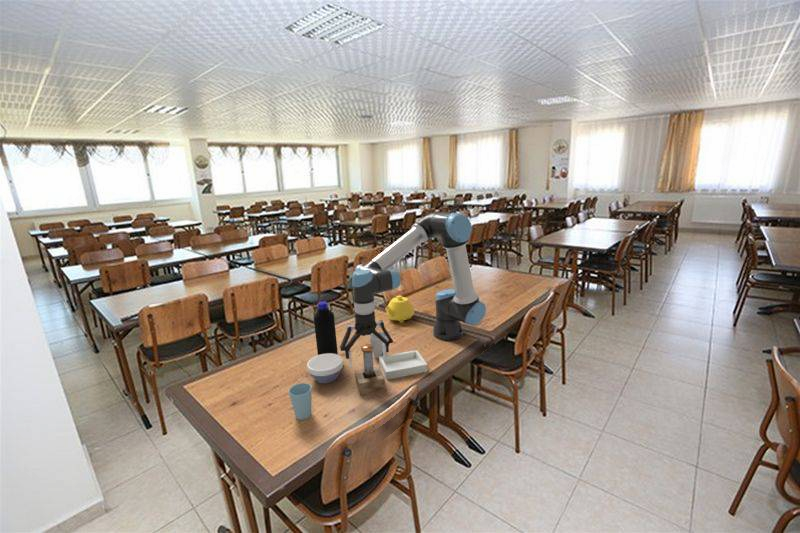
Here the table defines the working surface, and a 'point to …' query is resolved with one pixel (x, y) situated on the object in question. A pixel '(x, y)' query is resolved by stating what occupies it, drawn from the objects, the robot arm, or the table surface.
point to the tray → (403, 364)
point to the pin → (368, 360)
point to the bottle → (325, 330)
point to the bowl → (325, 367)
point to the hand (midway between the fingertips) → (368, 362)
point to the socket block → (370, 381)
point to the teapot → (399, 309)
